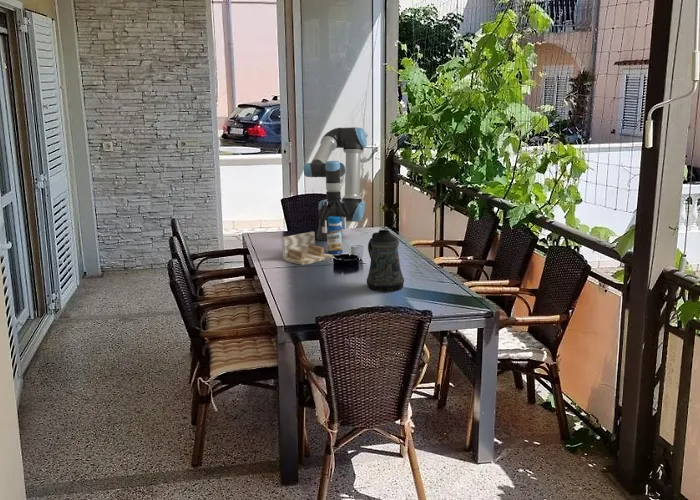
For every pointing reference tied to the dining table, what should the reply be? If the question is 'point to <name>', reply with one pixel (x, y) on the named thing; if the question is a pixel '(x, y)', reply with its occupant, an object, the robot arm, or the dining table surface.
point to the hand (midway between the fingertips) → (334, 230)
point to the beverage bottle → (334, 236)
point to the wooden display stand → (303, 249)
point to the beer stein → (384, 263)
